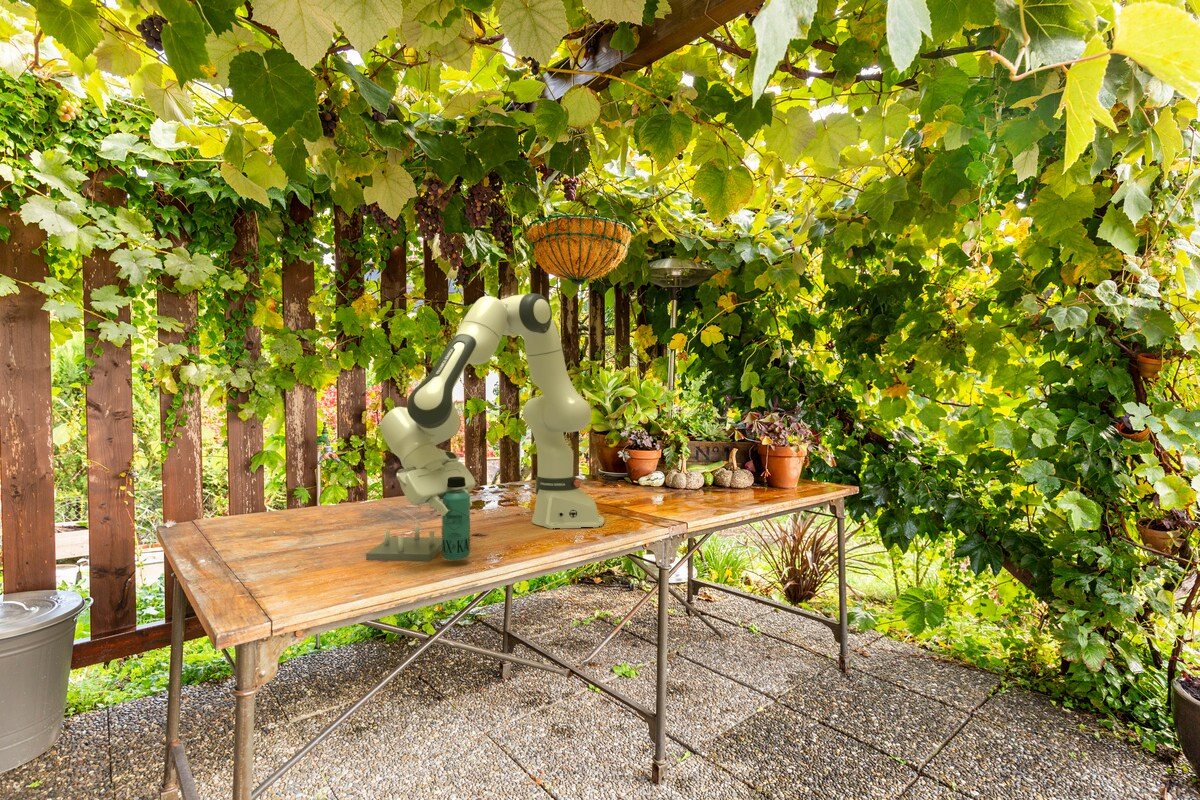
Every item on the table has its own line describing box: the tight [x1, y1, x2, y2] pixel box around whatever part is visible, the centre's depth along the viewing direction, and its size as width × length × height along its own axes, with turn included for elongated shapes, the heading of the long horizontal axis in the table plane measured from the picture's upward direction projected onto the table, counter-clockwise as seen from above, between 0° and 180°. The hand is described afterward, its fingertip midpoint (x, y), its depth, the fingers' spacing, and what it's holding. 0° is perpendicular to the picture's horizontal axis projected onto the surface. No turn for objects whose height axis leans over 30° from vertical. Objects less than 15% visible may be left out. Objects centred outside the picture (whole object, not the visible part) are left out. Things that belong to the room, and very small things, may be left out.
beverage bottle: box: [440, 477, 471, 561], centre depth 128 cm, size 6×7×20 cm
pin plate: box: [365, 524, 442, 562], centre depth 137 cm, size 15×15×5 cm
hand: (458, 510), depth 128 cm, fingers closed on beverage bottle, 6 cm apart
